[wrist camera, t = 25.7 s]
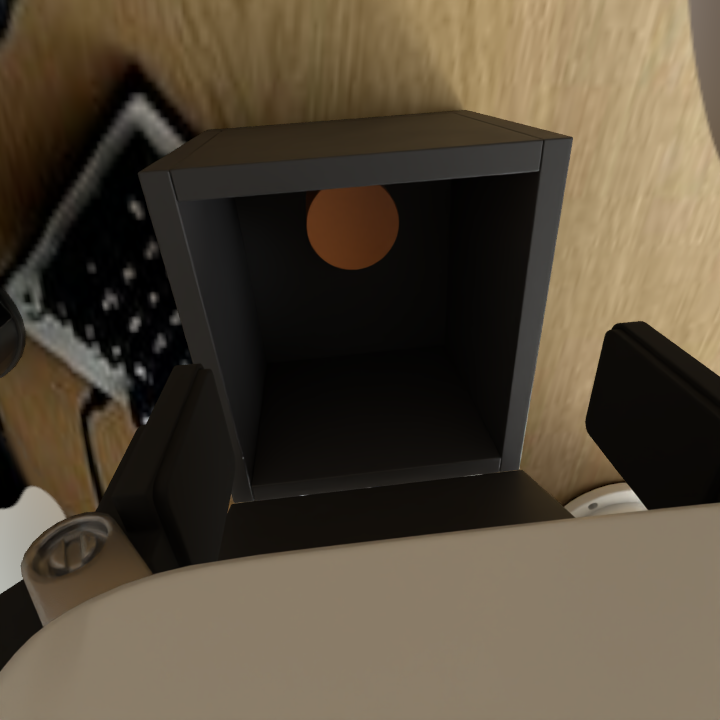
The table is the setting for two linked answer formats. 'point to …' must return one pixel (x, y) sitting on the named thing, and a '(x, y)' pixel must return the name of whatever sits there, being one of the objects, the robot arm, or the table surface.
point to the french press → (10, 334)
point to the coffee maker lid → (386, 513)
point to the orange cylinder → (351, 225)
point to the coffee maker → (364, 294)
